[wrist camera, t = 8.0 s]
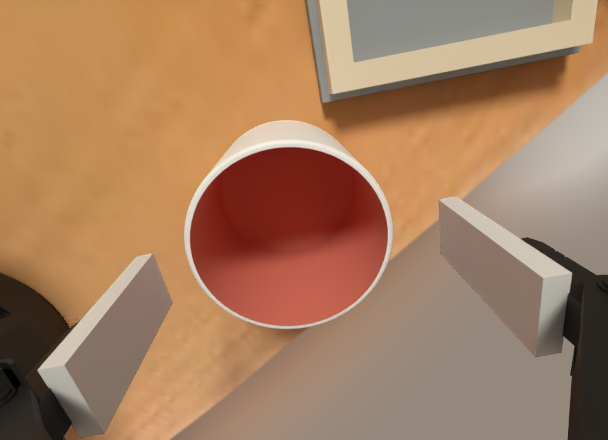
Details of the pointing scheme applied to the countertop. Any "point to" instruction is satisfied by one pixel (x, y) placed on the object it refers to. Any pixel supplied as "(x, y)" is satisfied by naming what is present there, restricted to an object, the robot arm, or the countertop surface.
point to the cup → (288, 228)
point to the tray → (436, 39)
